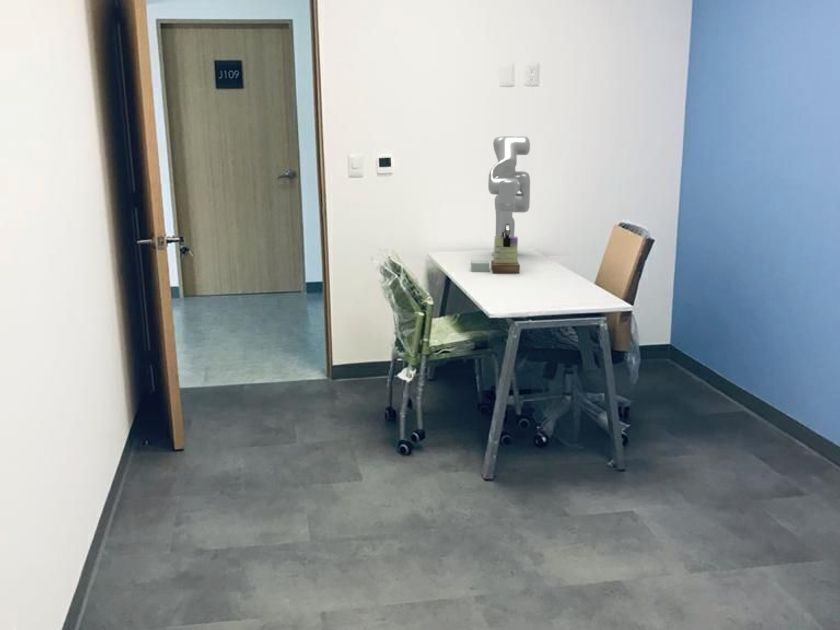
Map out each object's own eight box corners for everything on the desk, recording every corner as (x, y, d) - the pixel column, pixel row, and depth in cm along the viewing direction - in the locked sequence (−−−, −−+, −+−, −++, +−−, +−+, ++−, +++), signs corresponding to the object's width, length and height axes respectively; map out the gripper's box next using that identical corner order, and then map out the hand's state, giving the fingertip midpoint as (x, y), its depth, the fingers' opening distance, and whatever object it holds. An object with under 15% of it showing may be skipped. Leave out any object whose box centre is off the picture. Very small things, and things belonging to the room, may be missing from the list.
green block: (470, 268, 374) (471, 260, 373) (488, 268, 374) (488, 260, 373) (471, 271, 366) (471, 263, 366) (489, 271, 366) (489, 263, 365)
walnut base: (491, 268, 374) (491, 260, 373) (516, 268, 374) (517, 260, 373) (492, 273, 362) (493, 264, 361) (519, 273, 362) (519, 265, 361)
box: (516, 261, 370) (517, 236, 367) (517, 263, 365) (517, 237, 362) (493, 261, 371) (494, 235, 368) (494, 263, 365) (494, 237, 362)
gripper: (497, 205, 370) (496, 242, 374) (499, 209, 353) (498, 248, 357) (513, 205, 369) (512, 242, 373) (516, 209, 353) (515, 248, 357)
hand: (505, 245), depth 365 cm, fingers open, 9 cm apart
